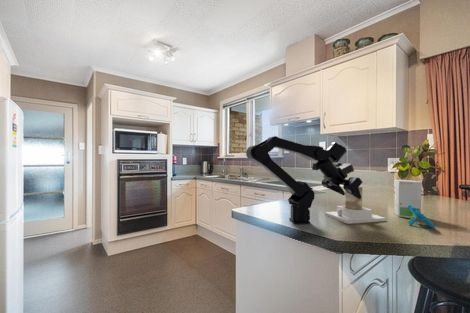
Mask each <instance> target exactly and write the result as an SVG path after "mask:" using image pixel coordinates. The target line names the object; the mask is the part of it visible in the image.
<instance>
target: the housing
mask: <svg viewBox="0 0 470 313" xmlns="http://www.w3.org/2000/svg"><path fill="white" fill-rule="evenodd" d="M324 215H325V216H326V217H329V218H332V219H334V220H337V221H338V222H341V223H344V224H346V225H350V224H351V225H352V224H363V223H364V224H365V223H375V222H376V223H377V222H386V221H387V220H386V218H387V217H383V216H381V215H377V214H373V209H370V208H369V207H363V206H362V210H350V209H347V208H345V205H336V211H324Z"/></svg>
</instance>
